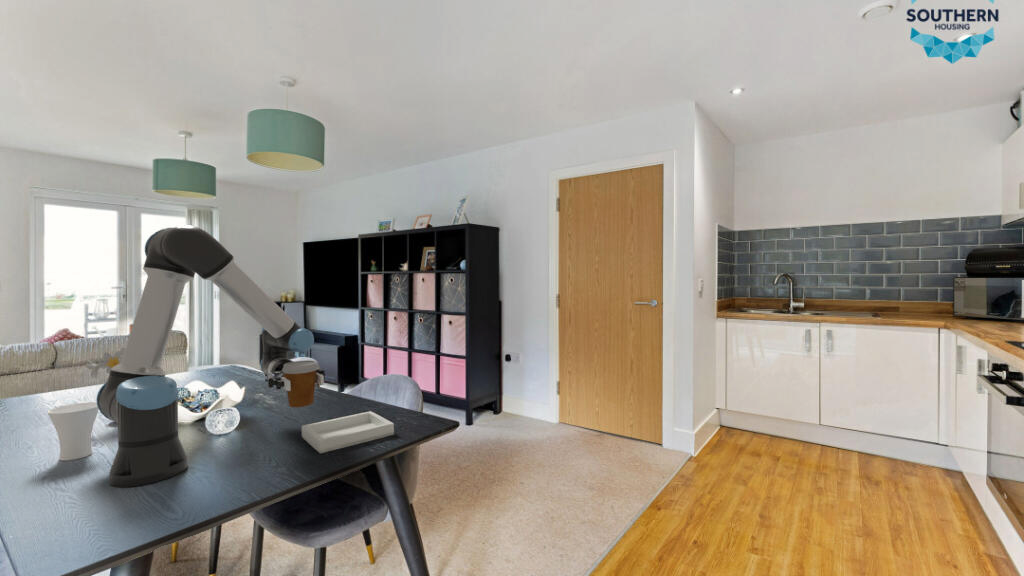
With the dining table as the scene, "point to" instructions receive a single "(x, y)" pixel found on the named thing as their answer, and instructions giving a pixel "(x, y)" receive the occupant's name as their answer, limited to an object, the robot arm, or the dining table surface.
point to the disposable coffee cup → (301, 382)
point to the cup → (74, 428)
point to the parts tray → (346, 431)
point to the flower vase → (110, 364)
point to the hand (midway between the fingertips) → (306, 383)
